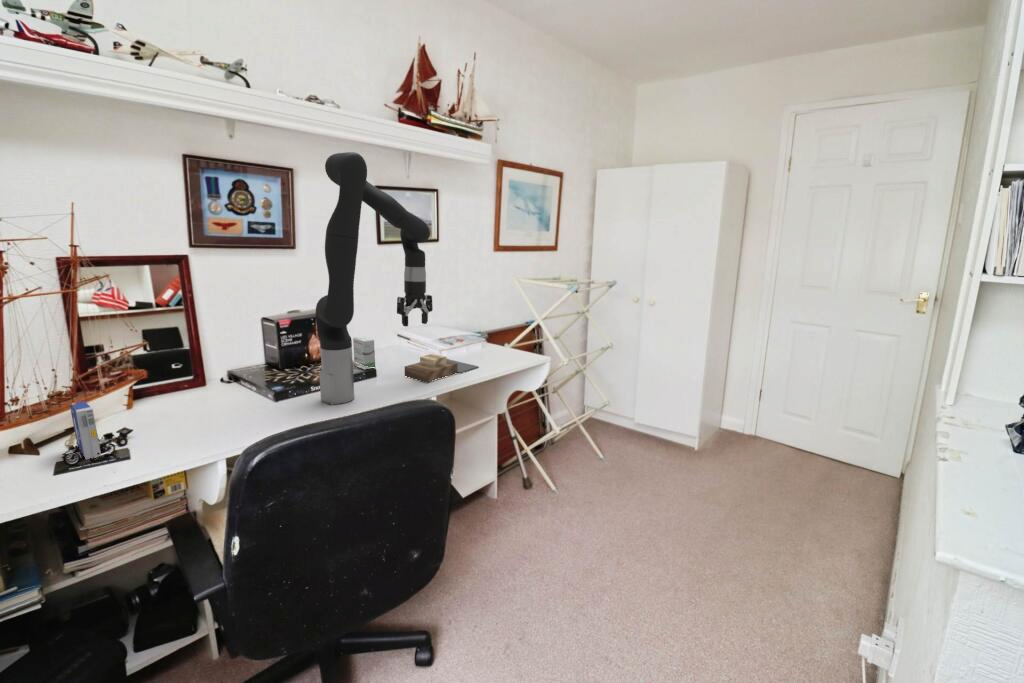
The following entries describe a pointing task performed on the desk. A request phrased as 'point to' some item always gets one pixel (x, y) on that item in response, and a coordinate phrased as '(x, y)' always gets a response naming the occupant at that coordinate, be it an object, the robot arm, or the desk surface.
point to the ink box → (364, 351)
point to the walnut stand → (430, 371)
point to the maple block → (433, 360)
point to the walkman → (85, 429)
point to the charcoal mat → (463, 366)
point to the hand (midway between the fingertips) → (415, 324)
